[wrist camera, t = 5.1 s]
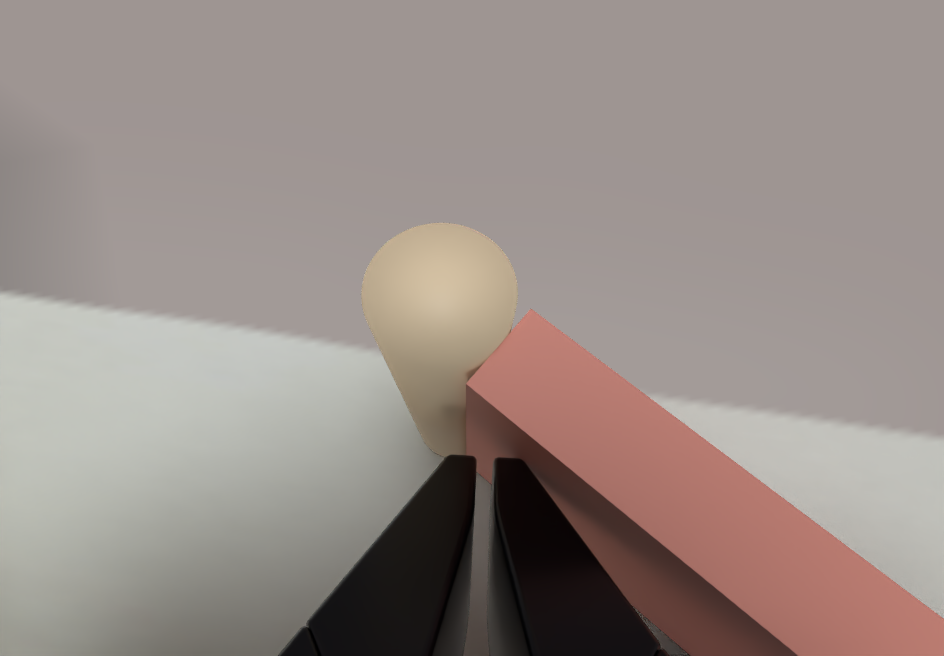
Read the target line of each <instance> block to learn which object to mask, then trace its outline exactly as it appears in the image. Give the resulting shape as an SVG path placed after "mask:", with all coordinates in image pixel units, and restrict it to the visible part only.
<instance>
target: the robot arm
mask: <svg viewBox="0 0 944 656" xmlns="http://www.w3.org/2000/svg"><path fill="white" fill-rule="evenodd" d="M476 468H477V459H476V457H474V456H471V455H454V454H451V455H448V456H447V457H446V458H445V459H444V460H443V461H442V463H441V464H440V465H439V466H438V467H437V468H436V470H435V471H434V472H433V473H432V474H431V476H430V477H429V478H428V479H427V480H426V481H425V483H424V484H423V485H422V486H421V487H420V489H419V490H418V491H417V492H416V493H415V494H414V496H413V497H412V498H411V499H410V500H409V502H408V503H407V504H406V505H405V506H404V507H403V509H402V510H401V511H400V512H399V513H398V515H397V516H396V517H395V518H394V519H393V521H392V522H391V523H390V524H389V525H388V526H387V528H386V529H385V530H384V531H383V532H382V534H381V535H380V536H379V537H378V538H377V539H376V541H375V542H374V543H373V544H372V545H371V547H370V548H369V549H368V550H367V551H366V552H365V554H364V555H363V556H362V557H361V558H360V560H359V561H358V562H357V563H356V564H355V565H354V567H353V568H352V569H351V570H350V571H349V573H348V574H347V575H346V576H345V577H344V578H343V580H342V581H341V582H340V583H339V584H338V586H337V587H336V588H335V589H334V590H333V591H332V593H331V594H330V595H329V596H328V597H327V599H326V600H325V601H324V602H323V603H322V604H321V606H320V607H319V608H318V609H317V610H316V612H315V613H314V614H313V615H312V616H311V617H310V619H309V620H308V621H307V627H306V626H304V627H302V628H301V629H300V630H299V631H298V632H297V633H296V635H295V636H294V637H293V638H292V639H291V641H290V642H289V643H288V644H287V645H286V647H285V648H284V649H283V650H282V651H281V653H280V654H279V655H278V656H463V651H464V645H465V639H466V632H467V625H468V616H469V603H470V585H471V565H472V546H473V527H474V508H475V488H476ZM487 626H488V642H489V653H490V656H669V655H668V653H667V652H666V651H665V650H663V649H660V644H659V642H658V640H657V639H656V638H655V636H654V635H653V634H652V632H651V631H650V630H649V628H648V627H647V626H646V624H645V623H644V622H643V620H642V619H641V618H640V616H639V615H638V613H637V612H636V611H635V609H634V608H633V607H632V605H631V604H630V603H629V601H628V600H627V599H626V597H625V596H624V595H623V593H622V592H621V591H620V589H619V588H618V587H617V585H616V584H615V583H614V581H613V580H612V578H611V577H610V576H609V574H608V573H607V572H606V570H605V569H604V568H603V566H602V565H601V564H600V562H599V561H598V560H597V558H596V557H595V556H594V554H593V553H592V552H591V550H590V549H589V548H588V546H587V545H586V544H585V542H584V541H583V539H582V538H581V537H580V535H579V534H578V533H577V531H576V530H575V529H574V527H573V526H572V525H571V523H570V522H569V521H568V519H567V518H566V517H565V515H564V514H563V513H562V511H561V510H560V509H559V507H558V506H557V504H556V503H555V502H554V500H553V499H552V498H551V496H550V495H549V494H548V492H547V491H546V490H545V488H544V487H543V486H542V484H541V483H540V482H539V480H538V479H537V478H536V476H535V475H534V474H533V472H532V471H531V470H530V468H529V467H528V465H527V464H526V463H525V462H524V461H523V460H522V459H520V458H507V457H497V458H495V459H494V461H493V470H492V485H491V500H490V522H489V558H488V593H487Z"/></svg>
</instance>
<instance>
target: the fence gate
mask: <svg viewBox="0 0 944 656" xmlns="http://www.w3.org/2000/svg"><path fill="white" fill-rule="evenodd" d="M517 298H518V288H517V281H516V276H515V273H514V270H513V268H512V265H511V263H510V261H509V259H508V258H507V256H506V255H505V254H504V252H503V251H502V250H501V249H500V248H499V247H498V246H497V244H495V243H494V242H493V241H492V240H491V239H489V238H488V237H486V236H485V235H483V234H482V233H480V232H478V231H476V230H473V229H471V228H468V227H465V226H462V225H457V224H450V223H432V224H425V225H421V226H417V227H413V228H411V229H408V230H406V231H404V232H402V233H400V234H398V235H396V236H395V237H393V238H392V239H390V240H389V241H388V242H387V243H386V244H385V245H383V247H382V248H381V249H380V250H379V251H378V252H377V253H376V255H375V256H374V257H373V259H372V260H371V262H370V264H369V266H368V268H367V270H366V273H365V276H364V279H363V284H362V293H361V299H362V307H363V311H364V315H365V318H366V320H367V322H368V325H369V327H370V329H371V331H372V334H373V336H374V338H375V340H376V342H377V344H378V346H379V348H380V350H381V352H382V355H383V357H384V359H385V361H386V363H387V365H388V367H389V369H390V371H391V373H392V376H393V378H394V380H395V382H396V384H397V386H398V388H399V390H400V392H401V394H402V396H403V399H404V401H405V403H406V405H407V407H408V409H409V411H410V413H411V415H412V417H413V420H414V422H415V424H416V426H417V428H418V430H419V432H420V434H421V436H422V438H423V440H424V442H425V443H426V445H427V446H428V447H429V448H430V449H431V450H432V451H434V452H435V453H437V454H438V455H441V456H443V457H447V456H448V455H451V454H454V455H471V456H474V457H476V459H477V468H476V471H477V472H478V473H479V474H480V475H481V476H482V477H484V478H485V479H486V480H487V481H488V482H489V483H490V484H492V470H493V461H494V459H495V458H497V457H507V458H520V459H522V460H523V461H524V462H525V463H526V464H527V465H528V467H529V468H530V470H531V471H532V472H533V474H534V475H535V476H536V478H537V479H538V480H539V482H540V483H541V484H542V486H543V487H544V488H545V490H546V491H547V492H548V494H549V495H550V496H551V498H552V499H553V500H554V502H555V503H556V504H557V506H558V507H559V509H560V510H561V511H562V513H563V514H564V515H565V517H566V518H567V519H568V521H569V522H570V523H571V525H572V526H573V527H574V529H575V530H576V531H577V533H578V534H579V535H580V537H581V538H582V539H583V541H584V542H585V544H586V545H587V546H588V548H589V549H590V550H591V552H592V553H593V554H594V556H595V557H596V558H597V560H598V561H599V562H600V564H601V565H602V566H603V568H604V569H605V570H606V572H607V573H608V574H609V576H610V577H611V578H612V580H613V581H614V583H615V584H616V585H617V587H618V588H619V589H620V591H621V592H622V593H623V595H624V596H625V597H626V599H627V600H628V601H629V603H630V604H631V605H632V606H633V607H635V608H636V609H637V610H638V611H639V612H640V613H642V614H643V615H644V616H645V617H646V618H647V619H649V620H650V621H651V622H652V623H653V624H654V625H656V626H657V627H658V628H659V629H660V630H661V631H662V632H664V633H665V634H666V635H667V636H668V637H669V638H671V639H672V640H673V641H674V642H675V643H676V644H678V645H679V646H680V647H681V648H682V649H683V650H685V651H686V652H687V653H688V654H689V655H690V656H944V619H943V618H942V617H940V616H939V615H938V614H936V613H935V612H934V611H933V610H931V609H930V608H929V607H927V606H926V605H925V604H923V603H922V602H921V601H919V600H918V599H917V598H915V597H914V596H913V595H911V594H910V593H909V592H907V591H906V590H905V589H903V588H902V587H901V586H899V585H898V584H897V583H895V582H894V581H893V580H891V579H890V578H889V577H887V576H886V575H885V574H883V573H882V572H881V571H879V570H878V569H877V568H875V567H874V566H873V565H871V564H870V563H869V562H867V561H866V560H865V559H863V558H862V557H861V556H859V555H858V554H857V553H855V552H854V551H853V550H851V549H850V548H849V547H847V546H846V545H845V544H843V543H842V542H841V541H839V540H838V539H837V538H835V537H834V536H833V535H831V534H830V533H829V532H827V531H826V530H825V529H823V528H822V527H821V526H819V525H818V524H817V523H815V522H814V521H813V520H811V519H810V518H809V517H807V516H806V515H805V514H803V513H802V512H801V511H799V510H798V509H797V508H795V507H794V506H793V505H791V504H790V503H789V502H788V501H786V500H785V499H784V498H782V497H781V496H780V495H778V494H777V493H776V492H774V491H773V490H772V489H770V488H769V487H768V486H766V485H765V484H764V483H762V482H761V481H760V480H758V479H757V478H756V477H754V476H753V475H752V474H750V473H749V472H748V471H746V470H745V469H744V468H742V467H741V466H740V465H738V464H737V463H736V462H734V461H733V460H732V459H730V458H729V457H728V456H726V455H725V454H724V453H722V452H721V451H720V450H718V449H717V448H716V447H714V446H713V445H712V444H710V443H709V442H708V441H706V440H705V439H704V438H702V437H701V436H700V435H698V434H697V433H696V432H694V431H693V430H692V429H690V428H689V427H688V426H686V425H685V424H684V423H682V422H681V421H680V420H678V419H677V418H676V417H674V416H673V415H672V414H670V413H669V412H668V411H666V410H665V409H664V408H662V407H661V406H660V405H658V404H657V403H656V402H654V401H653V400H652V399H650V398H649V397H648V396H646V395H645V394H644V393H642V392H641V391H640V390H639V389H637V388H636V387H634V386H633V385H632V384H631V383H629V382H628V381H626V380H625V379H624V378H623V377H621V376H620V375H619V374H617V373H616V372H614V371H613V370H612V369H610V368H609V367H608V366H606V365H605V364H604V363H602V362H601V361H600V360H599V359H597V358H596V357H595V356H593V355H592V354H591V353H589V352H588V351H587V350H585V349H584V348H583V347H581V346H580V345H578V344H577V343H576V342H575V341H573V340H572V339H571V338H569V337H568V336H567V335H565V334H564V333H563V332H561V331H560V330H558V329H557V328H556V327H555V326H553V325H552V324H551V323H549V322H548V321H547V320H545V319H544V318H543V317H541V316H540V315H539V314H537V313H536V312H535V311H533V310H532V309H530V310H529V312H528V313H527V314H526V315H525V316H524V317H523V318H522V320H521V321H520V322H519V323H518V324H517V325H516V327H515V328H514V329H513V330H512V331H511V328H512V324H513V319H514V315H515V310H516V305H517Z"/></svg>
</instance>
